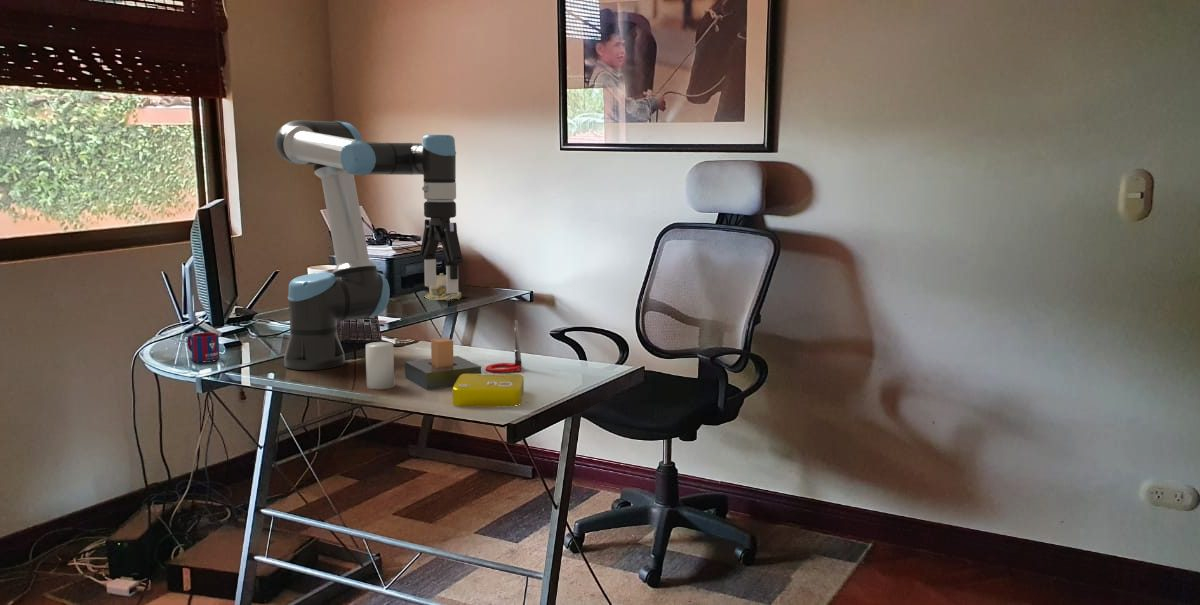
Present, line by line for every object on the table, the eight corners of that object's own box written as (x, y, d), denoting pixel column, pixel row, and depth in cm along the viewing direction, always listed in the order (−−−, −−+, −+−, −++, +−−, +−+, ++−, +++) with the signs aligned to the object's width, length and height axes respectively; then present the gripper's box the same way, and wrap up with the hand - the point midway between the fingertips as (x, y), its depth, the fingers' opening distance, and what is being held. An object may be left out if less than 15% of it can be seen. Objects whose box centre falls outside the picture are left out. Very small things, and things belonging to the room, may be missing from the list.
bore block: (405, 377, 228) (404, 361, 227) (457, 371, 235) (457, 355, 235) (426, 389, 216) (426, 373, 216) (481, 382, 224) (481, 366, 223)
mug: (201, 363, 241) (199, 338, 240) (180, 358, 247) (178, 333, 246) (224, 359, 247) (223, 334, 245) (203, 354, 252) (202, 330, 251)
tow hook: (484, 375, 233) (521, 373, 234) (482, 325, 231) (519, 323, 232) (486, 368, 242) (521, 366, 242) (483, 319, 240) (519, 317, 240)
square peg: (431, 379, 226) (431, 339, 225) (446, 377, 229) (446, 337, 227) (438, 382, 223) (437, 342, 222) (453, 380, 225) (453, 340, 224)
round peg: (363, 384, 221) (361, 343, 219) (389, 381, 224) (387, 341, 222) (371, 390, 215) (370, 348, 214) (398, 387, 219) (397, 345, 217)
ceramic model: (425, 301, 349) (425, 275, 348) (422, 297, 360) (422, 271, 358) (462, 300, 353) (462, 274, 351) (458, 296, 364) (458, 271, 362)
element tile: (524, 391, 217) (524, 371, 217) (519, 408, 203) (519, 387, 202) (460, 391, 217) (460, 371, 216) (451, 408, 202) (451, 386, 202)
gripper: (405, 198, 228) (407, 283, 231) (445, 203, 207) (447, 297, 210) (434, 198, 232) (435, 282, 235) (476, 203, 211) (477, 295, 214)
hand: (441, 289), depth 223 cm, fingers open, 13 cm apart
